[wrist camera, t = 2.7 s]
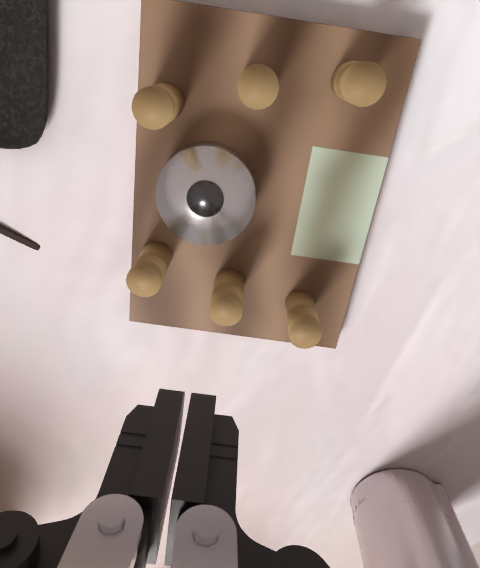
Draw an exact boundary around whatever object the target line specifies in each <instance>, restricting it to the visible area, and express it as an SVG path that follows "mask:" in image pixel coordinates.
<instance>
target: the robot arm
mask: <svg viewBox="0 0 480 568" xmlns="http://www.w3.org/2000/svg"><path fill="white" fill-rule="evenodd" d="M184 397H185V392H182V391H174V390H166V389H159V392H158V395H157V399H156V402H155V406H154V407H153V406H145V405H137V406H136V407H135V408H134V409H133V410H132V411H131V412H130V413H129V414H128V415H127V416H126V418H125V421H124V424H123V427H122V429H121V433H120V435H119V438H118V441H117V443H116V447H115V449H114V452H113V454H112V457H111V460H110V463H109V465H108V468H107V471H106V474H105V477H104V479H103V482H102V485H101V488H100V490H99V493H98V495H97V497H96V499H95V500H94V501H93V502H91V503H90V504H89V505H88V506H87V507H86V508H85V509H84V511H83V512H82V513H80V514H78V515H76V516H74V517H72V518H69V519H66V520H62V521H57V522H52V523H46V524H41V525H38V524H37V522H36V521H35V519H34V518H33V517H32V516H31V515H29V514H27V513H25V512H22V511H5V512H1V513H0V568H145V567H146V563H148V564H156V560H157V555H158V550H159V544H160V539H161V534H162V529H163V524H164V519H165V514H166V509H167V504H168V499H169V494H170V489H171V483H172V478H173V473H174V468H175V463H176V458H177V453H178V447H179V441H180V434H181V425H182V416H183V406H184ZM215 403H216V396H213V395H206V394H198V393H192V394H191V399H190V404H189V409H188V414H187V420H186V425H185V430H184V435H183V441H182V446H181V451H180V456H179V462H178V467H177V472H176V477H175V483H174V488H173V493H172V499H171V507H170V517H169V526H168V536H167V545H166V555H165V564H164V565H167V566H171V568H330V567H329V566H328V565H327V563H326V562H325V561H324V560H323V559H322V558H321V557H320V556H319V555H318V554H317V553H316V552H314V551H312V550H311V549H309V548H306V547H303V546H299V545H290V546H286V547H283V548H281V549H279V550H278V551H277V552H276V551H273V550H271V549H269V548H267V547H265V546H263V545H261V544H259V543H257V542H255V541H253V540H252V539H251V538H249V537H248V536H247V535H246V534H245V533H244V531H243V530H242V529H241V527H240V525H239V523H238V521H237V518H236V511H235V506H236V483H237V459H238V437H239V430H238V428H237V426H236V424H235V422H234V420H233V417H232V416H224V415H216V414H214V412H215ZM350 502H351V509H352V513H353V520H354V525H355V527H356V532H357V537H358V542H359V547H360V551H361V556H362V561H363V565H364V568H479V566H478V564H477V562H476V559H475V557H474V555H473V552H472V550H471V548H470V546H469V543H468V541H467V539H466V537H465V534H464V532H463V530H462V528H461V525H460V523H459V521H458V518H457V516H456V514H455V512H454V509H453V507H452V505H451V503H450V500H449V498H448V496H447V493H446V491H445V489H444V487H443V485H441V484H435V483H433V482H431V481H430V480H429V479H428V478H427V477H426V476H424V475H422V474H420V473H418V472H415V471H411V470H405V469H391V470H385V471H381V472H378V473H375V474H372V475H371V476H369V477H367V478H365V479H364V480H363V481H361V482H360V483H359V484H358V485H357V486H356V487H355V489H354V491H353V493H352V495H351V500H350Z"/></svg>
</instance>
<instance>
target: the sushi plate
mask: <svg viewBox="0 0 480 568" xmlns="http://www.w3.org/2000/svg"><path fill="white" fill-rule="evenodd" d="M48 96H49V10H48V0H0V148H4V149H21V148H26V147H30V146H32V145H34V144H36V143H37V142H38V141H39V139H40V138H41V136H42V134H43V131H44V129H45V124H46V119H47V111H48ZM0 233H1V234H3V235H5V236H7V237H9V238H11V239H13V240H16V241H18V242H20V243H22V244H24V245H26V246H28V247H30V248H33V249H35V250H39V248H40V245H38V244H37V243H35V242H33V241H31V240H29V239H27V238H25V237H23V236H22V235H20V234H18V233H16V232H14V231H12V230H10V229H8V228H6V227H4V226H2V225H0Z"/></svg>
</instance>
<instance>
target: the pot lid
mask: <svg viewBox="0 0 480 568" xmlns="http://www.w3.org/2000/svg"><path fill="white" fill-rule="evenodd" d="M155 198H156V205H157V208H158V211H159V214H160V216H161V218H162V220H163V221H164V223H165V224H166V226H167V227H168V228H169V229H170V230H171V231H172V232H173V233H174V234H176V235H177V236H178V237H180V238H182V239H183V240H185V241H188V242H190V243H193V244H198V245H206V246H207V245H217V244H221V243H225V242H227V241H229V240H231V239H233V238H234V237H236V236H237V235H238V234H240V233H241V232H242V231H243V230H244V229H245V227H246V226H247V225H248V223H249V221H250V219H251V218H252V215H253V212H254V208H255V200H256V190H255V180H254V176H253V173H252V171H251V169H250V167H249V165H248V163H247V162H246V161H245V159H244V158H243V157H242V156H241V155H240V154H239V153H238V152H236V151H235V150H234V149H232V148H230V147H228V146H226V145H224V144H221V143H217V142H211V141H203V142H196V143H193V144H190V145H187V146H186V147H184V148H182V149H181V150H179V151H178V152H177V153H176V154H175V155H174V156H173V157H172V158H171V159H170V160H169V161H168V163H167V164H166V165H165V166H164V168H163V169H162V171H161V173H160V175H159V177H158V180H157V184H156V191H155Z"/></svg>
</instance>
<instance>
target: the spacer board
mask: <svg viewBox="0 0 480 568" xmlns="http://www.w3.org/2000/svg"><path fill="white" fill-rule="evenodd" d="M420 43H421V39H414V38H408V37H402V36H395V35H389V34H383V33H376V32H370V31H364V30H358V29H351V28H345V27H339V26H332V25H326V24H320V23H313V22H307V21H301V20H295V19H288V18H282V17H276V16H269V15H263V14H257V13H250V12H244V11H238V10H232V9H225V8H219V7H213V6H206V5H200V4H194V3H187V2H181V1H175V0H141V26H140V52H139V79H138V92H137V93H136V94H135V96H134V98H133V101H132V111H133V115H134V117H135V119H136V120H137V132H136V159H135V186H134V212H133V239H132V266H131V269H130V271H129V273H128V275H127V278H126V283H127V286H128V288H129V289H130V291H131V292H130V319H129V321H134V322H141V323H149V324H156V325H164V326H171V327H179V328H186V329H194V330H201V331H209V332H216V333H224V334H231V335H238V336H246V337H253V338H261V339H268V340H276V341H283V342H291V343H292V344H293V345H294V346H296V347H298V348H304V349H306V348H311V347H313V346H321V347H328V348H335V349H336V345H337V342H338V338H339V335H340V331H341V327H342V324H343V320H344V317H345V313H346V309H347V306H348V302H349V299H350V295H351V291H352V288H353V284H354V281H355V277H356V273H357V270H358V266H359V263H360V259H361V256H362V252H363V248H364V245H365V241H366V238H367V234H368V230H369V227H370V223H371V220H372V216H373V212H374V209H375V205H376V202H377V198H378V194H379V191H380V187H381V184H382V180H383V176H384V173H385V169H386V166H387V162H388V158H389V155H390V151H391V147H392V144H393V140H394V137H395V133H396V129H397V126H398V122H399V118H400V115H401V111H402V108H403V104H404V100H405V97H406V93H407V90H408V86H409V82H410V79H411V75H412V72H413V68H414V64H415V61H416V57H417V54H418V50H419V46H420ZM203 141H211V142H217V143H221V144H224V145H226V146H228V147H230V148H232V149H234V150H235V151H236V152H238V153H239V154H240V155H241V156H242V157H243V158H244V159H245V161H246V162H247V163H248V165H249V167H250V169H251V171H252V173H253V176H254V180H255V190H256V200H255V208H254V212H253V215H252V218H251V219H250V221H249V223H248V225H247V226H246V227H245V229H244V230H243V231H242V232H241V233H240V234H238V235H237V236H236V237H234V238H233V239H231V240H229V241H227V242H225V243H221V244H217V245H207V246H206V245H198V244H193V243H190V242H188V241H185V240H183V239H182V238H180V237H178V236H177V235H176V234H174V233H173V232H172V231H171V230H170V229H169V228H168V227H167V226H166V224H165V223H164V221H163V220H162V218H161V216H160V214H159V211H158V208H157V205H156V198H155V191H156V184H157V180H158V177H159V175H160V173H161V171H162V169H163V168H164V166H165V165H166V164H167V163H168V161H169V160H170V159H171V158H172V157H173V156H174V155H175V154H176V153H177V152H178V151H179V150H181V149H182V148H184V147H186V146H187V145H190V144H193V143H196V142H203Z"/></svg>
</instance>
